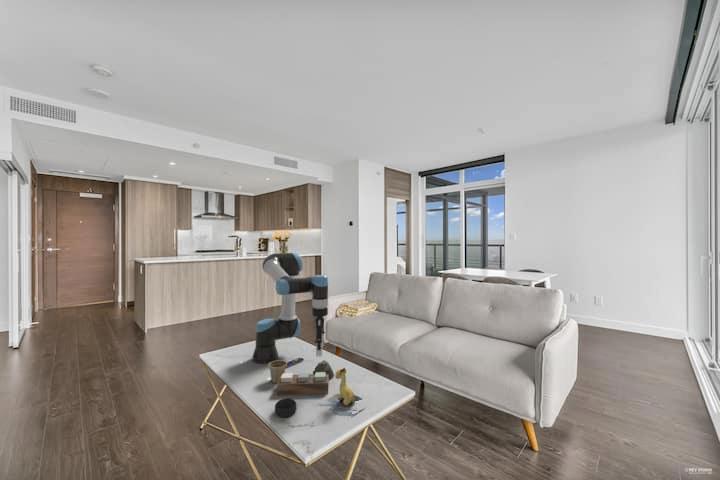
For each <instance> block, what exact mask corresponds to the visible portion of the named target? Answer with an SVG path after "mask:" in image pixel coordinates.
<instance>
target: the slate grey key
mask: <svg viewBox="0 0 720 480" xmlns="http://www.w3.org/2000/svg"><path fill="white" fill-rule="evenodd" d="M309 374H310V372H298V375H299V376H298V382H308V381H309Z"/></svg>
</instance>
